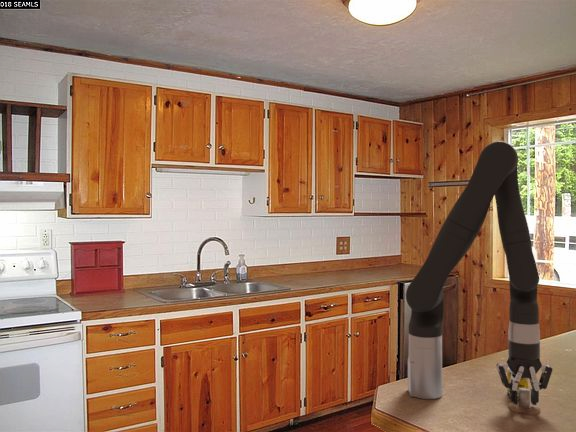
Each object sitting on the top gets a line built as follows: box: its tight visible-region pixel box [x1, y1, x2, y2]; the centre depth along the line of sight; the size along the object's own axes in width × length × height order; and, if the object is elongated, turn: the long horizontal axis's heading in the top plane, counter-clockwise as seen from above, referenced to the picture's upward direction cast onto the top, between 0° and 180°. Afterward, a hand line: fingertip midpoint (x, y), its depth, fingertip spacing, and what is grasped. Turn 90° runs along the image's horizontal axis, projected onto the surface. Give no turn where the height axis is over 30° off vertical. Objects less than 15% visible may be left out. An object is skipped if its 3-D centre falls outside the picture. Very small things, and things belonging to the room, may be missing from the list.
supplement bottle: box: [506, 367, 529, 398], centre depth 144 cm, size 5×5×10 cm
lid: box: [508, 388, 541, 416], centre depth 134 cm, size 8×8×5 cm
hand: (524, 403), depth 134 cm, fingers open, 4 cm apart
